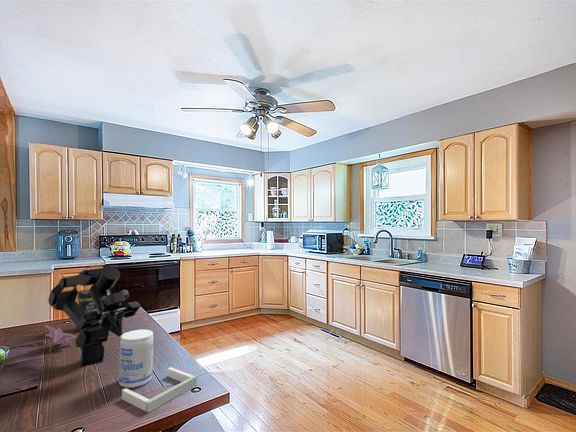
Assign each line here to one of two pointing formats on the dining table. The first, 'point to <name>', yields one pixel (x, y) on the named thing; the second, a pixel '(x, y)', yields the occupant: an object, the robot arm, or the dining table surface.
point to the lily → (59, 336)
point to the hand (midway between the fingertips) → (120, 335)
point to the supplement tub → (135, 358)
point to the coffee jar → (85, 302)
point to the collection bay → (151, 404)
